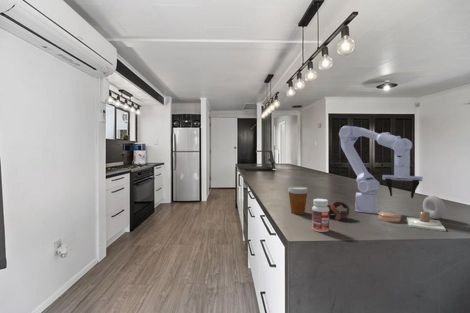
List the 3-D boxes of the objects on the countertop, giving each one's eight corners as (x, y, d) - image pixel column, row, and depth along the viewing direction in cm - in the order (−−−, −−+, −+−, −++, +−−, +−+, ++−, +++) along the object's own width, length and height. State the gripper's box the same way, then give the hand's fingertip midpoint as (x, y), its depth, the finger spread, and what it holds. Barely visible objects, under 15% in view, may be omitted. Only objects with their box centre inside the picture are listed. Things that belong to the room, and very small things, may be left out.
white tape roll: (447, 221, 103) (448, 197, 103) (439, 221, 103) (440, 198, 103) (427, 215, 113) (428, 193, 113) (420, 215, 113) (420, 193, 113)
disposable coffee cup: (296, 216, 113) (297, 189, 112) (283, 211, 121) (283, 187, 121) (312, 213, 117) (312, 188, 117) (298, 209, 126) (298, 185, 125)
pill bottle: (324, 233, 89) (324, 202, 89) (308, 229, 94) (308, 199, 93) (332, 229, 93) (332, 200, 93) (317, 226, 98) (317, 197, 97)
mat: (409, 226, 97) (409, 224, 97) (406, 218, 108) (406, 216, 108) (445, 231, 91) (445, 229, 91) (439, 222, 102) (439, 220, 102)
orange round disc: (377, 220, 105) (377, 214, 105) (378, 216, 113) (378, 210, 112) (402, 223, 101) (402, 217, 101) (400, 218, 108) (400, 213, 108)
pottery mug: (344, 216, 115) (350, 202, 111) (345, 230, 107) (352, 216, 103) (318, 208, 118) (323, 194, 113) (317, 221, 110) (322, 207, 106)
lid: (411, 223, 98) (411, 213, 98) (409, 218, 106) (409, 208, 106) (441, 227, 93) (441, 216, 93) (437, 221, 101) (437, 211, 101)
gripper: (382, 165, 109) (382, 196, 110) (423, 166, 102) (423, 199, 102) (382, 165, 115) (382, 194, 116) (421, 166, 108) (420, 197, 108)
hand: (401, 196), depth 109 cm, fingers open, 7 cm apart
